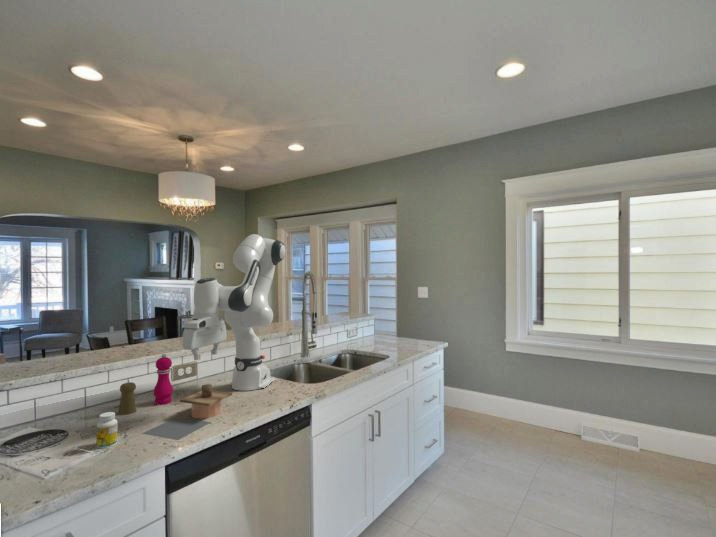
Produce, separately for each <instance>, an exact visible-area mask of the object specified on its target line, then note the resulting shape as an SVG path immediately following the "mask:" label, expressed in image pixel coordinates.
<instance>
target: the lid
mask: <svg viewBox="0 0 716 537" xmlns="http://www.w3.org/2000/svg"><path fill="white" fill-rule="evenodd" d="M212 386H213V385H212V384H211V383H206V384H203V385H201V390H200V391H198V392H195V393H193V394H190V395H188V396H185V397H184V398H180V399H179V402H180V403H185V404H191V405H192V404H198V405H205V406H210V405H212V404H214V403H216V402H218V401H221V402H222V401H223V400H224V399H227V398H229V397H231V396H232V395H233V392H226V391H220V390H213V387H212Z"/></svg>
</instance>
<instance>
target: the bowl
mask: <svg viewBox="0 0 716 537" xmlns="http://www.w3.org/2000/svg"><path fill="white" fill-rule="evenodd" d="M221 411H222V400H221V401H218V402H216V403H214V404H212V405H210V406H205V405H198V404H191V417H193V419H198V420H200V419H202V420H203V419H209V418H213V417H214V418H215V417H217V416H218V415H220V414H221Z"/></svg>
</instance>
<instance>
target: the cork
mask: <svg viewBox="0 0 716 537" xmlns="http://www.w3.org/2000/svg"><path fill="white" fill-rule="evenodd" d="M136 386H137V385H136V383H134V382H132V381H131V382H124V383H122V384H121V385H120V386H119V392H120V393H121V394H120V401H119V405H118V413H117V414H118V415H121V416H125V415H131V414H135V413H136V412H137V403H136V396H135V391H136V389H137V387H136Z"/></svg>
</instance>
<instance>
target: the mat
mask: <svg viewBox="0 0 716 537" xmlns="http://www.w3.org/2000/svg"><path fill="white" fill-rule="evenodd" d="M211 423H212V422H211V421H204V420H200V419H195V418H193V419H192V418H187V417H181V416H180V417H179V416H176V417H174V418H172V419H169V420H168V421H166V422H163V423H161V424H159V425H157V426H155V427H152V428H150V429H148V430H146V431H144V432H142V435H149V436H154V437H159V438H163V439H164V438H165V439H171V440H176V441H179V440H181V439H183V438H185V437H187V436H189V435H191V434H192V433H194V432H197V431H198V430H199V429H201V428H203V427H205V426H207V425H209V424H211Z"/></svg>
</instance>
